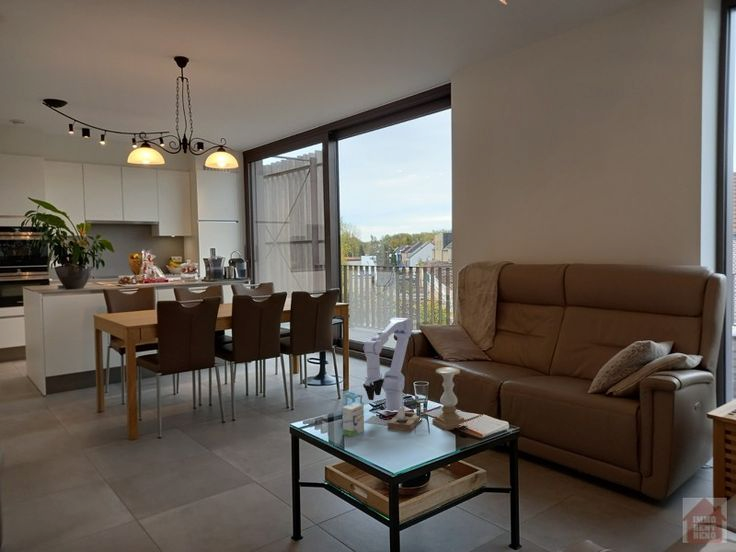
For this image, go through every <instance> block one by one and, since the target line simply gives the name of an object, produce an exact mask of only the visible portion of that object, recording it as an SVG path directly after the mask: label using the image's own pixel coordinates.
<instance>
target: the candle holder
mask: <svg viewBox="0 0 736 552" xmlns="http://www.w3.org/2000/svg"><path fill="white" fill-rule="evenodd" d="M460 372H461V370H460V369H459V368H458V367H452V366H446V367H445V366H444V367H439V368H436V370H435V373H437V374H438V375H441V376H442V378H443V382H442V387H443V390H444V392H443V393H442V395H441V397H440V400H439V401H440V404H441V405H442V407H441V411H442V413H440V414H438V415H437V414H436V415H435V416H434V418H432V424H433V425H435V426H436V427H438V428H440V429H442V430H444V431H452V430H455V429H454V428H455V427H456V426H457V425H458V424H460V423H463V422H467V421H466V420H465V417H463V416H461V415H460V414H458V413H457V407H456V405H457V404H458V397H457V396H456V395H455V394H456V393H454V391H453V389H454V386H455V383H454V381H453V378H454V377H455V375H458V374H460Z"/></svg>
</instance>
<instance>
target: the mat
mask: <svg viewBox="0 0 736 552" xmlns="http://www.w3.org/2000/svg"><path fill="white" fill-rule="evenodd" d="M389 421H390V420H383V419H380V418H379V415H372V416H370V417H368V419H366V420H364V424H371V425H381V426H386V425H387V423H388V422H389Z"/></svg>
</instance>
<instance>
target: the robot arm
mask: <svg viewBox="0 0 736 552" xmlns="http://www.w3.org/2000/svg"><path fill="white" fill-rule="evenodd" d="M413 328H414V325H413V321H412V319H411V318H410V317H408V318H407V317H394V316H393V317H391V318H390V319H389V320H388V325H387V326H386V327H385V328H384V330H383V331H381V330H380V331H378V332H377V333H376V335H374V336H373V337H371V339H369V340H366V341H365V343H364V345H363V351H364V354H365V355H364V357H366V375H365V376H364V379H365V380H364V383H363V384H362V387H363V388H364V389H365V392H366V394H367V399H368V400H369V401H374V399H375V396H381V392H382V390H383V392H384V393H385V409H387V410H397V407H398V406H405V405H404V392H403V391H404V389H405V379H406V378H405V376H404V374H403V373H402V369H403V365H404V361H405V356H406V352H407V348H408V347H407V346H408V344H409V338H411V336H412V332H413ZM392 335H394V336H395V337H396V338H397V340H396V343H395V348H394V352H393V357H392V361H391V364H390V369H389V370H387V371H386V372H385V373H384V374H383V373H382V372H381V369H380V368H381V366H380V365H381V364H380V363H381V362H380V354H381V353H382V349H383V347H384V345H385V344H386V343H388V341H389V338H390V336H392Z"/></svg>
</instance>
